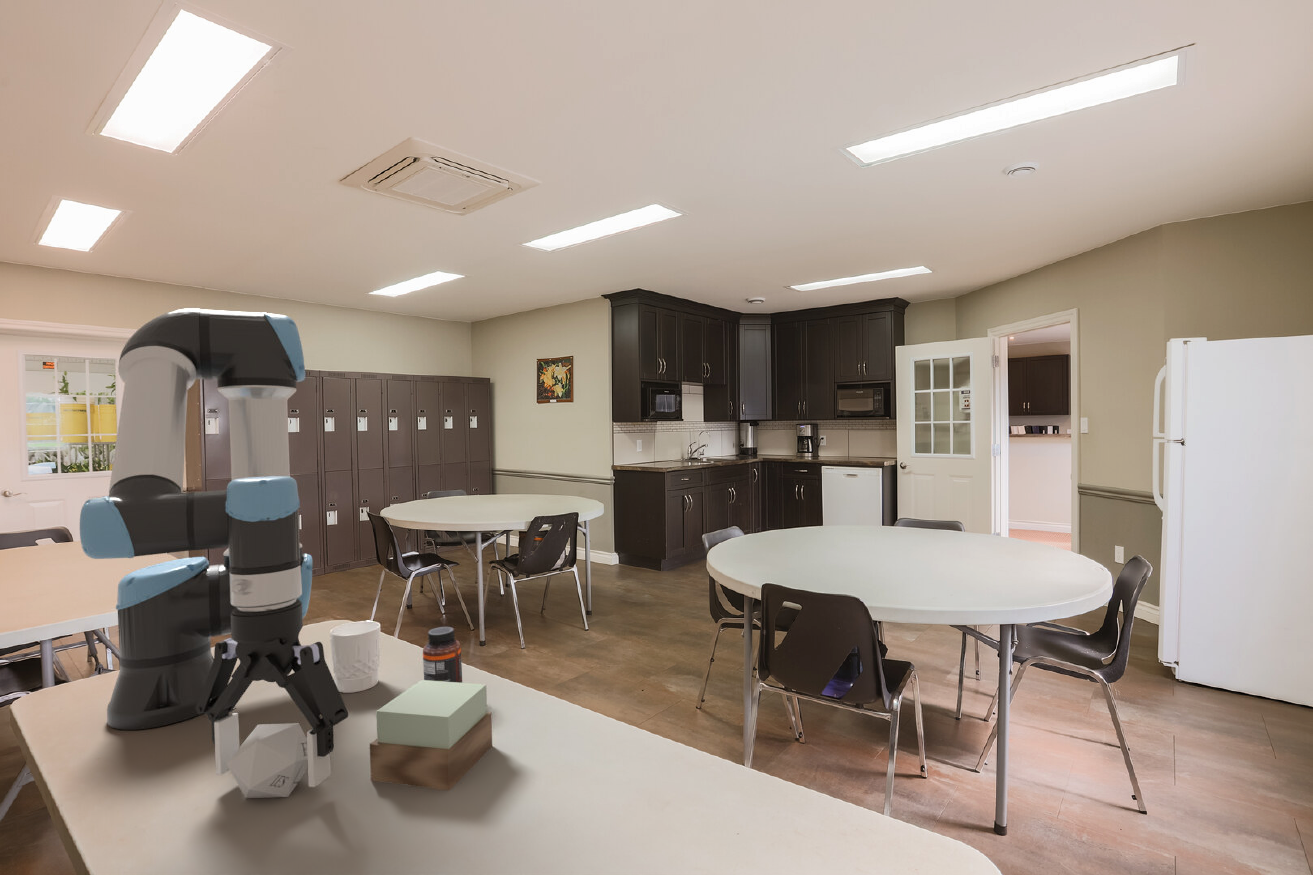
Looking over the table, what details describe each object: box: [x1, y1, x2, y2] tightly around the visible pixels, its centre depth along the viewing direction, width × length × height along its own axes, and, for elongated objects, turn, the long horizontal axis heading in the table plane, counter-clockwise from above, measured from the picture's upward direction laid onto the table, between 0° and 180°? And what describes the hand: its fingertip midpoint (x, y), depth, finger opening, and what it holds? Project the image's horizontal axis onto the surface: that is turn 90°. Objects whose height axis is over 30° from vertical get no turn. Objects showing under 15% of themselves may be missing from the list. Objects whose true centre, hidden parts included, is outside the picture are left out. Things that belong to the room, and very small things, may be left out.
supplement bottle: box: [422, 626, 463, 683], centre depth 105 cm, size 6×6×11 cm
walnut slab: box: [369, 711, 493, 791], centre depth 85 cm, size 11×11×5 cm
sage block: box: [376, 679, 488, 749], centre depth 85 cm, size 10×10×4 cm
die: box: [227, 722, 308, 799], centre depth 79 cm, size 8×9×10 cm
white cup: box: [329, 620, 381, 694], centre depth 111 cm, size 8×8×10 cm
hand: (273, 774), depth 79 cm, fingers open, 13 cm apart
